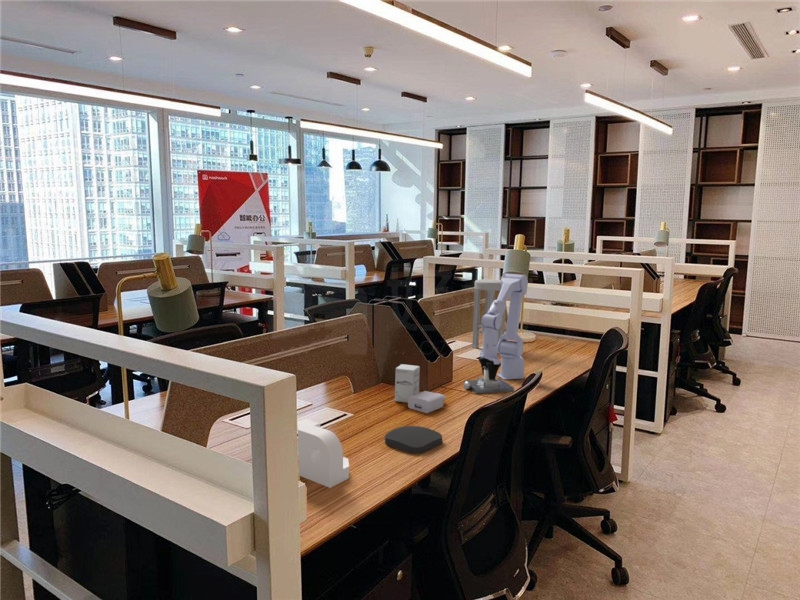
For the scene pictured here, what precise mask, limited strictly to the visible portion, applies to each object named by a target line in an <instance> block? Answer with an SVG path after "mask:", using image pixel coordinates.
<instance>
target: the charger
mask: <svg viewBox="0 0 800 600" xmlns="http://www.w3.org/2000/svg"><path fill="white" fill-rule="evenodd" d="M446 399H447V397H446V395H445V394H442V393H439V392H436V393H435V392H431V391H427V390H424V391H421V392H419V393H418V394H415V395H412V396H410V397H408V403H407V406H408V407H407V408H408V409H411V410H415V411H418V412H421V413H425V414H430V413H432V412H434V411H436V410H438V409H441V408H443V407H444V400H446Z"/></svg>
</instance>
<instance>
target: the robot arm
mask: <svg viewBox="0 0 800 600" xmlns="http://www.w3.org/2000/svg"><path fill="white" fill-rule="evenodd" d="M500 280H501V287H502V288H501V291H500V290H499V293H498V295H497V299H495V300H494V301H493V303H492V305H491V307H490V309H489V311H488V312H487V314H485V313H484V314H483V315H482V317H481V321H480V325H481V326H482V328H481V331H482V332H483V334H482V350H480V351H479V352H480V353H479V357H478V362H479V363H480V367H481V372H482V377H484V368H483V367H484V366H485V367H486V368H488V374H489V380H495V378H496V377H497V376H498V377H500V379H502V380H503V381H505V380H519V379H521V380H522V379H525V359H524V358H523V356H522V355H523V353H524V340H523V338H522V337H521V336H520V335H519V334H518V333H519V325H520V318H521V313H522V302H523V298H524V297H523V296H525V295H527V292H528V284H529V281H528V277H527V275H526V274H517V273H506V272H505V273H503V274H502V276H501V279H500ZM509 298H510V300H509V307H508V314H507V320H506V321H507V322H506V323H507V324H506V327H505V328H506V329H505V332H504V335H502V336H501V337H500V339H499V343H498V329H499V328H500V326H501V321H502V315H503V313H504V311H505V312H506V308H507V304H506V303H507V301H508V299H509ZM498 354H499V356H498ZM499 357H500V358H499ZM499 368H500V373H498V370H499Z"/></svg>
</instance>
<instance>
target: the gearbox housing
mask: <svg viewBox="0 0 800 600" xmlns="http://www.w3.org/2000/svg"><path fill="white" fill-rule="evenodd" d="M463 388H464V390H466V391H467V390H470V391H471V392H473V394H475V395H478V394H481V395H482V394H493V393H495V394H497V393H511V392H515V387H514V386H512V384H509V383H508V382H506V381H505V380H504V379H503V378H496V377H495V380H493V381H488V382H485V381H484V376H481V377H477V379H474V380H463Z"/></svg>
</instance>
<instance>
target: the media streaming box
mask: <svg viewBox="0 0 800 600" xmlns="http://www.w3.org/2000/svg"><path fill="white" fill-rule="evenodd" d="M384 443H385V445H387V446H389V447H392V448H395V450H396V449H397V450H400V451H403V452H406V453H409V454H418V455H419V454H423V453H426V452H428V451H430V450H433V449H435V448H437V447H438V446H440V445H442V444H443V435H442V434H441V433H440V432H439V431H436V430H434V429H431V428H428V427H424V426H419V425H418V426H417V425H408V426H406V425H405V426H400V427H397V428H394V429H391V430H390V431H389V432H388V433H386V434H385V435H384Z"/></svg>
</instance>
